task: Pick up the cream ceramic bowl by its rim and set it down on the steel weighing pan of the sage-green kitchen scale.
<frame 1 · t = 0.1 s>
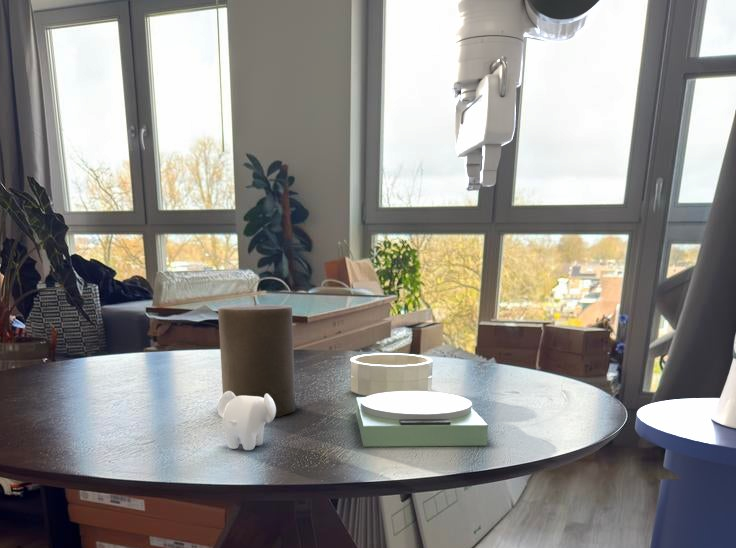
hand: (480, 188, 98), 28 cm above the table, tool pointing down, fingers open, 8 cm apart
scale: (416, 429, 89), on the table
bowl: (390, 392, 110), on the table
pillar candle: (259, 412, 98), on the table
elephant figurine: (247, 447, 81), on the table
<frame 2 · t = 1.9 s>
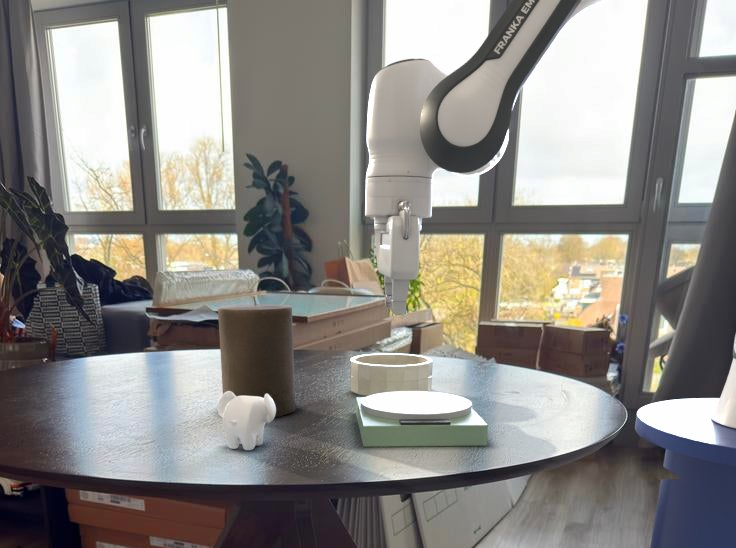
hand: (394, 311, 100), 13 cm above the table, tool pointing down, fingers open, 8 cm apart
nothing on the table moved.
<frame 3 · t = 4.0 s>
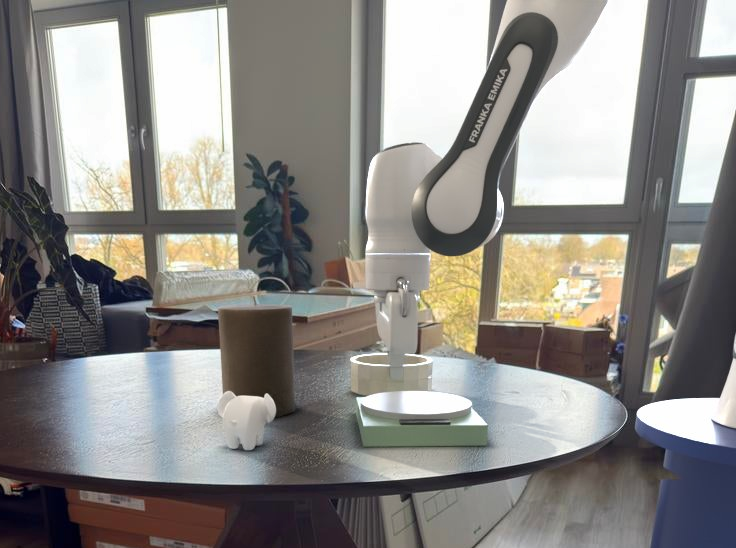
hand: (395, 377, 104), 3 cm above the table, tool pointing down, fingers closed on bowl
bowl: (390, 392, 110), on the table, touching gripper
everything else where it was.
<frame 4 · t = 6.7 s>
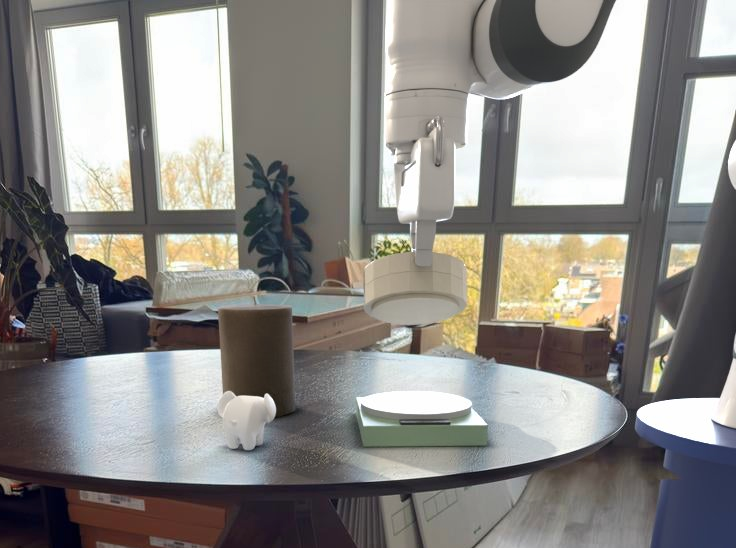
hand: (421, 266, 82), 19 cm above the table, tool pointing down, fingers closed on bowl
bowl: (415, 312, 87), point 14 cm above the table, tilted 22°, touching gripper
everything else where it was.
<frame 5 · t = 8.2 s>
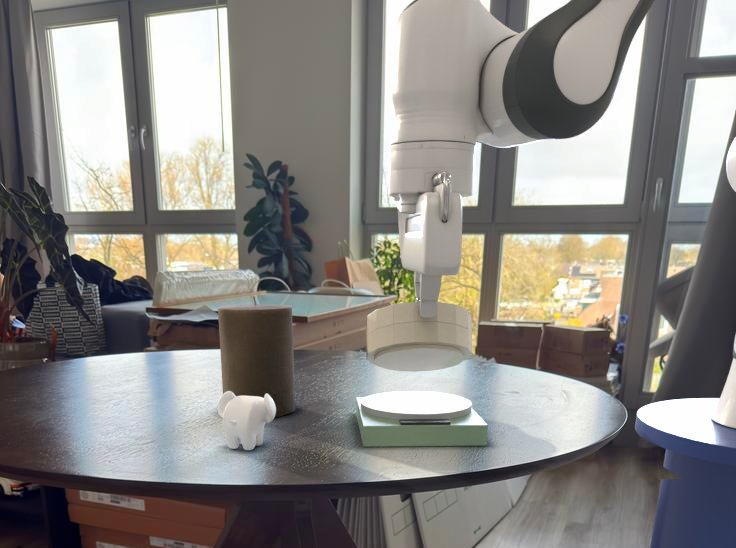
hand: (425, 316, 79), 14 cm above the table, tool pointing down, fingers closed on bowl
bowl: (418, 360, 85), point 8 cm above the table, tilted 23°, touching gripper
everything else where it was.
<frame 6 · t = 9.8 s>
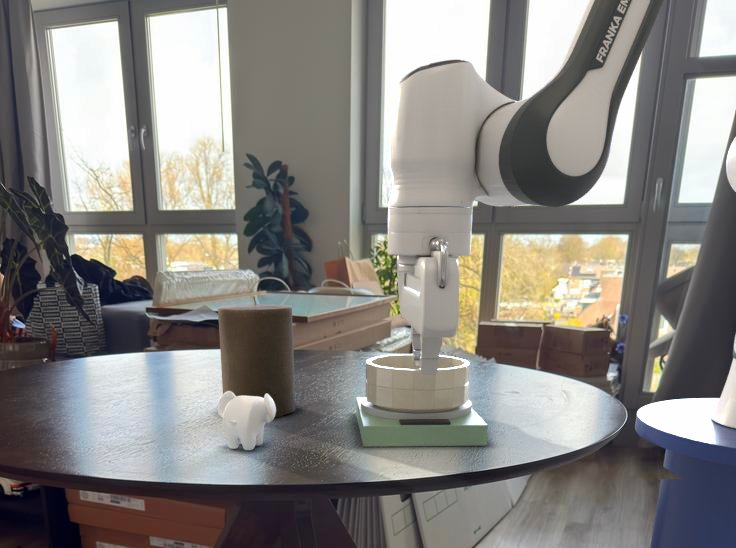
hand: (424, 369, 81), 8 cm above the table, tool pointing down, fingers open, 5 cm apart
bowl: (416, 403, 88), point 3 cm above the table, touching scale
everything else where it was.
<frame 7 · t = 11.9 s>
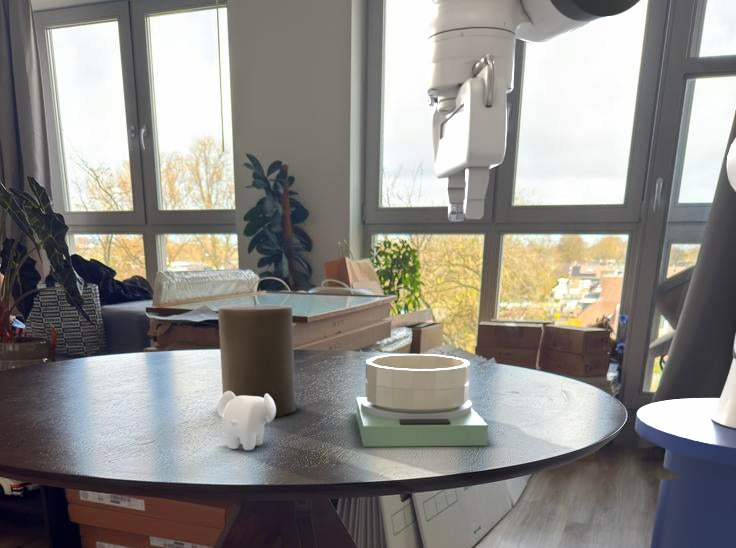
hand: (464, 220, 78), 24 cm above the table, tool pointing down, fingers open, 8 cm apart
nothing on the table moved.
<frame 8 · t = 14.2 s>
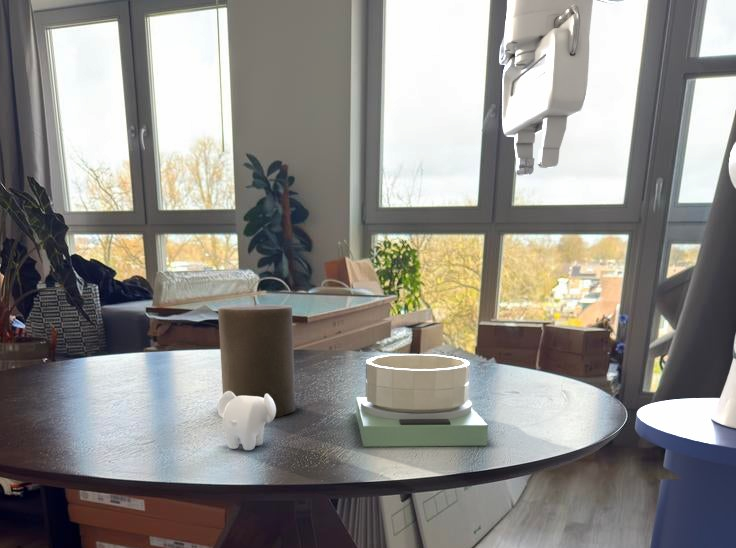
hand: (535, 171, 82), 29 cm above the table, tool pointing down, fingers open, 8 cm apart
nothing on the table moved.
at the end: bowl inside the target area on the scale (0.8 cm from its centre), point 3.2 cm above the scale's base; bowl tilted 0°; the gripper is holding nothing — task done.
